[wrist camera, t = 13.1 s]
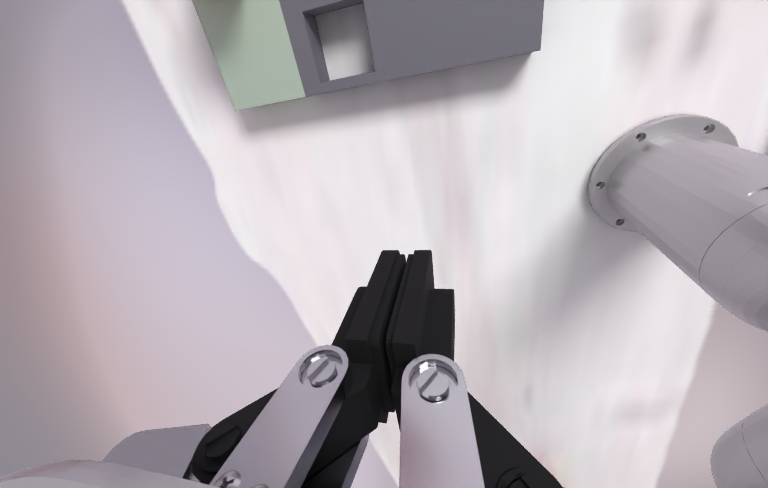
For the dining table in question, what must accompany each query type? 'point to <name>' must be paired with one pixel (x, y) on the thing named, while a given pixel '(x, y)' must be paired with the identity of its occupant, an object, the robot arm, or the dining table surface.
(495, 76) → the dining table surface
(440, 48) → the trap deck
